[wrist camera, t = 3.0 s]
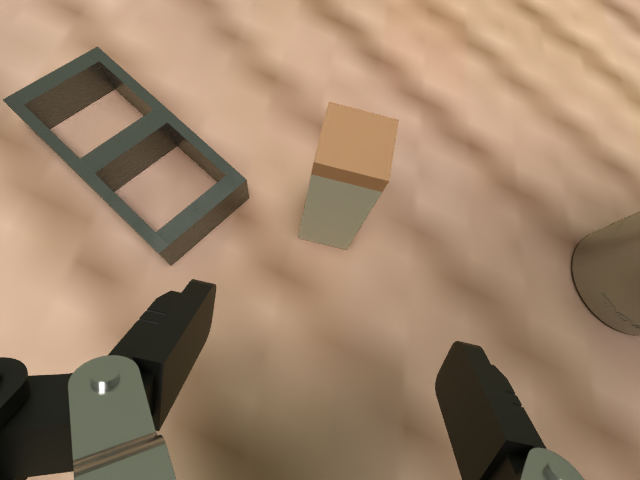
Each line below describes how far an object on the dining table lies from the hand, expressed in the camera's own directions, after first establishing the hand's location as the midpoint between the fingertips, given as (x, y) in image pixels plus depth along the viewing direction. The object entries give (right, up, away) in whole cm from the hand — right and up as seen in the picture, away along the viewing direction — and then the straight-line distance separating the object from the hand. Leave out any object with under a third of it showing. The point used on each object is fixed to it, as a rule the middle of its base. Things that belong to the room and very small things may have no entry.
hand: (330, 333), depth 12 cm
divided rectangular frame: (-15, +9, +17) cm, 25 cm away
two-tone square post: (0, +5, +18) cm, 18 cm away
